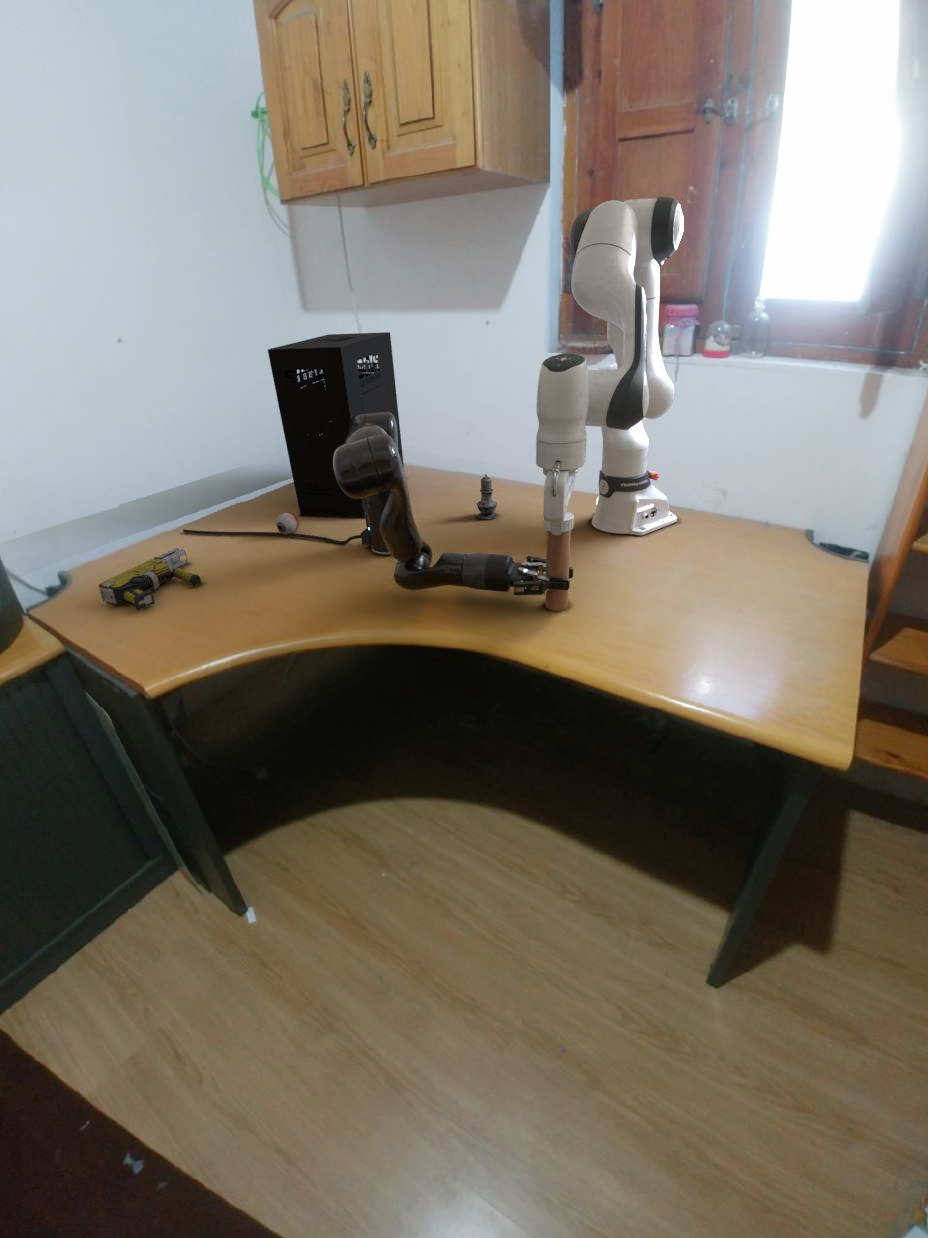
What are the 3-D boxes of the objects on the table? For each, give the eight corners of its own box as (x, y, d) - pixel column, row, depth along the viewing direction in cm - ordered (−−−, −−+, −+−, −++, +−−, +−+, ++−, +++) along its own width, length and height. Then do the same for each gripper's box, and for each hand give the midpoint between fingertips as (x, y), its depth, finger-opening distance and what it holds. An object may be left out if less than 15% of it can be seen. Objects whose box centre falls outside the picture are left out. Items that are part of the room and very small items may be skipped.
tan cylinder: (566, 599, 125) (569, 514, 116) (569, 610, 121) (572, 522, 112) (544, 600, 125) (545, 515, 116) (546, 611, 121) (548, 524, 112)
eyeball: (273, 537, 164) (268, 516, 161) (287, 528, 169) (282, 508, 166) (291, 539, 161) (286, 518, 158) (305, 530, 166) (301, 510, 163)
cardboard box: (364, 517, 173) (340, 346, 151) (300, 515, 178) (267, 349, 155) (404, 478, 205) (390, 332, 182) (349, 476, 209) (328, 334, 187)
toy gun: (224, 556, 146) (173, 545, 150) (148, 597, 126) (92, 584, 130) (226, 573, 148) (177, 563, 152) (152, 617, 128) (97, 603, 132)
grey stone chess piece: (496, 519, 166) (494, 477, 160) (475, 519, 167) (473, 476, 161) (499, 512, 171) (498, 470, 165) (478, 511, 172) (477, 470, 166)
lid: (545, 521, 118) (546, 510, 116) (574, 522, 116) (575, 511, 115) (542, 532, 113) (542, 520, 112) (572, 533, 112) (572, 521, 110)
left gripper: (477, 570, 116) (566, 577, 111) (495, 541, 128) (576, 546, 123) (479, 604, 120) (565, 612, 115) (496, 573, 132) (575, 579, 127)
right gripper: (573, 471, 98) (570, 549, 105) (582, 440, 115) (579, 509, 122) (535, 470, 100) (534, 547, 107) (549, 439, 117) (548, 508, 124)
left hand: (570, 578), depth 119 cm, fingers closed on tan cylinder, 4 cm apart
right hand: (558, 526), depth 115 cm, fingers closed on lid, 5 cm apart
